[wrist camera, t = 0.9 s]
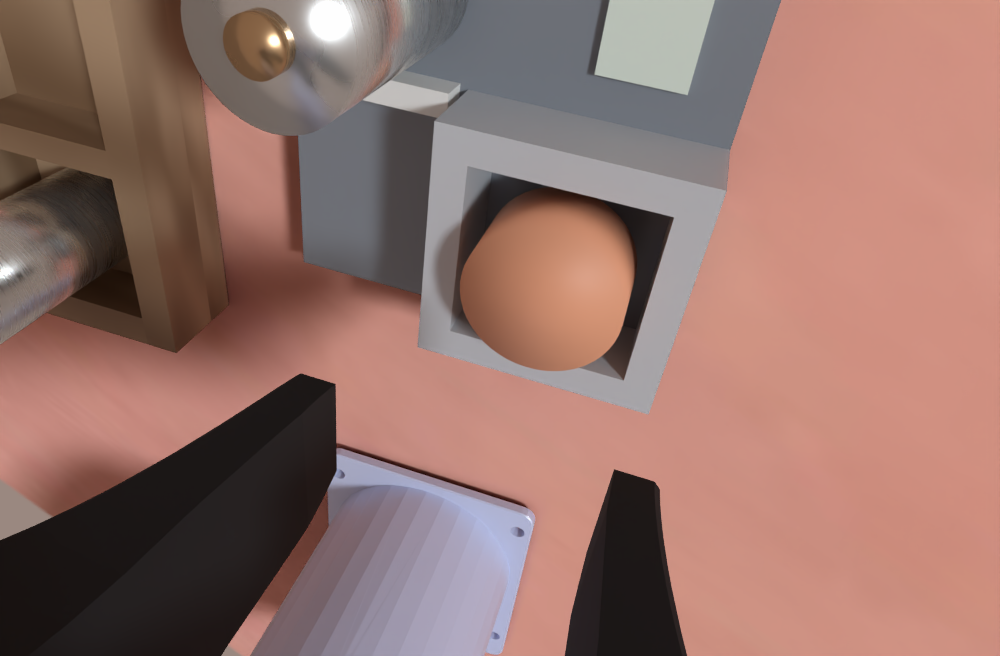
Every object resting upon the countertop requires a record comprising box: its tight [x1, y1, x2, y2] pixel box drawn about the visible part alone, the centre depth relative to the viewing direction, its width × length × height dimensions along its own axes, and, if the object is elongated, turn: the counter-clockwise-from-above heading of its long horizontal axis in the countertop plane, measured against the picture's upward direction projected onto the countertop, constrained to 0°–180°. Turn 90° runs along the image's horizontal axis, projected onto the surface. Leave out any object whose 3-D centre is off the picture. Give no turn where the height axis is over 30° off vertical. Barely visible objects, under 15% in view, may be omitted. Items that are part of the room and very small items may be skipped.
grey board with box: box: [298, 0, 781, 414], centre depth 16 cm, size 11×10×3 cm
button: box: [460, 187, 637, 371], centre depth 16 cm, size 4×4×2 cm
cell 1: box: [0, 167, 129, 344], centre depth 20 cm, size 3×3×6 cm
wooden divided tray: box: [0, 0, 229, 353], centre depth 20 cm, size 12×6×3 cm, turn 172°
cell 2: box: [181, 0, 468, 136], centre depth 13 cm, size 3×3×6 cm
